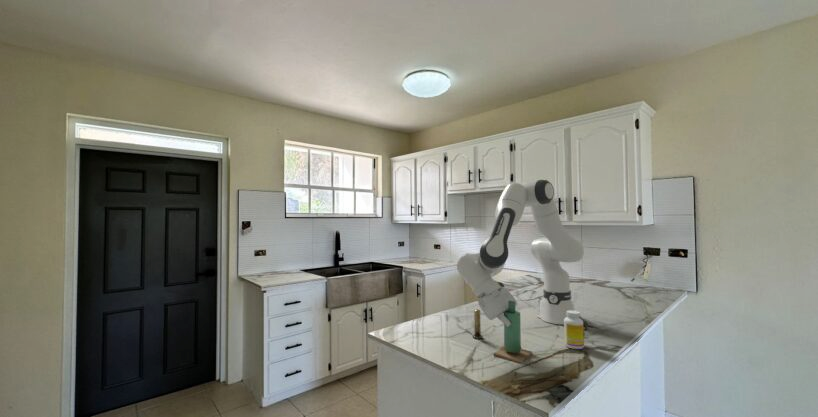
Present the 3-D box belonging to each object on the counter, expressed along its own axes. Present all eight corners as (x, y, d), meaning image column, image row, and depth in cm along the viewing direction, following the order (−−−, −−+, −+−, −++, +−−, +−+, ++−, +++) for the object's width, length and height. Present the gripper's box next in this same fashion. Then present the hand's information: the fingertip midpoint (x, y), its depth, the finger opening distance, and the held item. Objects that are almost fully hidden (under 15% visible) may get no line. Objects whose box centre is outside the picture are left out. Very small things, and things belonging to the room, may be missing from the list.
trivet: (505, 347, 124) (505, 345, 124) (532, 353, 118) (531, 351, 118) (493, 355, 117) (493, 353, 117) (521, 363, 110) (521, 360, 110)
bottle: (508, 345, 121) (507, 298, 122) (523, 349, 118) (522, 300, 118) (501, 350, 117) (501, 301, 118) (517, 354, 113) (516, 304, 114)
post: (475, 335, 138) (475, 308, 138) (484, 337, 135) (483, 309, 136) (470, 337, 135) (470, 310, 135) (479, 339, 132) (479, 312, 132)
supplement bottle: (587, 349, 121) (586, 314, 122) (569, 349, 122) (568, 314, 122) (578, 343, 128) (577, 309, 129) (561, 343, 128) (560, 309, 129)
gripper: (480, 290, 114) (508, 324, 108) (504, 282, 130) (530, 311, 124) (469, 301, 117) (495, 335, 111) (494, 292, 133) (518, 321, 126)
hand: (514, 322), depth 117 cm, fingers closed on bottle, 6 cm apart
